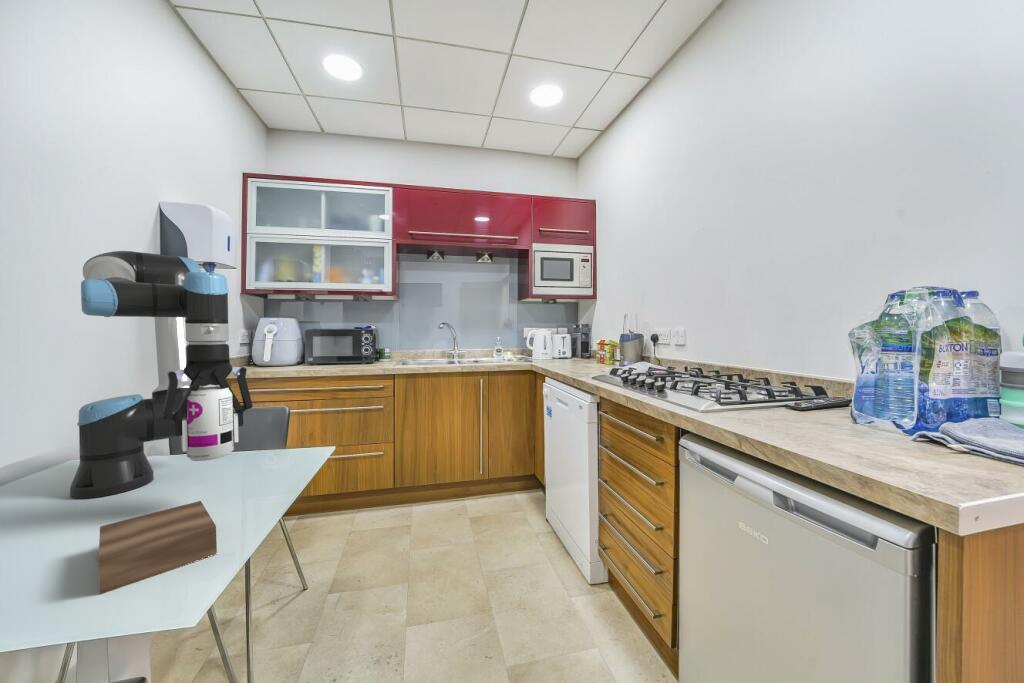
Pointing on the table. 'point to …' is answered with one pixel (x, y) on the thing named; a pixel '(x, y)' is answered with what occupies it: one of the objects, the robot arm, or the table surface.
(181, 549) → the walnut base
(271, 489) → the table surface
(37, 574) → the table surface
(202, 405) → the supplement can
